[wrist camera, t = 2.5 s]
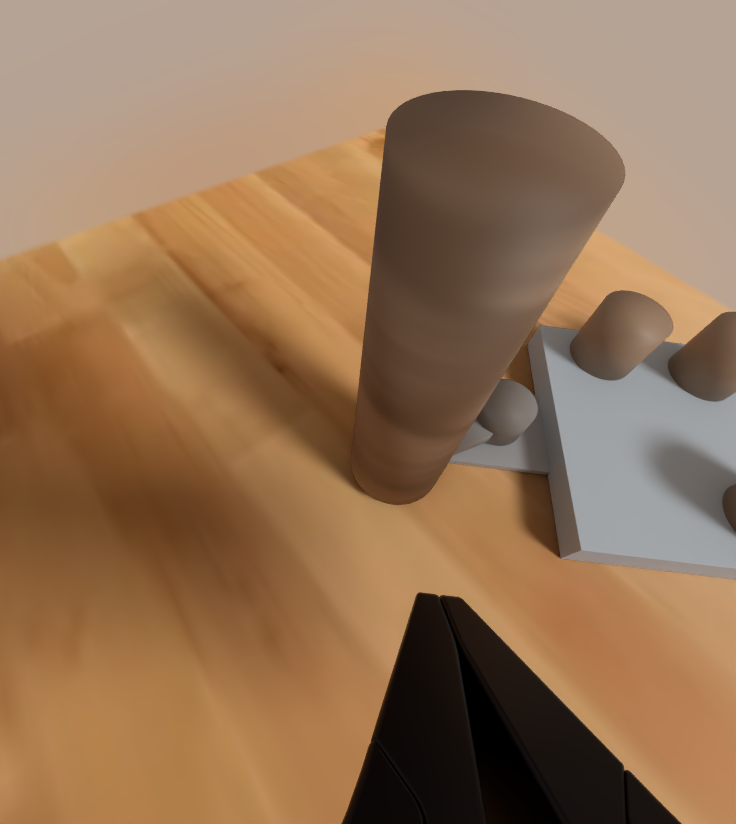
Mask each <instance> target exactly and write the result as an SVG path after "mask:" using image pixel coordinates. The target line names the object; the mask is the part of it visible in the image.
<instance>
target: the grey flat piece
mask: <svg viewBox="0 0 736 824" xmlns="http://www.w3.org/2000/svg"><path fill="white" fill-rule="evenodd" d="M672 331H673V321H672V319H671V317H670V315H669V314H668V312H667V311H666V310H665V309H664V308H663V307H662V306H661V305H660V304H659V303H657V302H656V301H654V300H653V299H651V298H649V297H647V296H645V295H643V294H640V293H637V292H632V291H615V292H612V293H610V294H609V295H607V296H606V298H605V299H604V300H603V301H602V303H601V304H600V305H599V307H598V308H597V309H596V310H595V312H594V313H593V314H592V316H591V317H590V318H589V319H588V321H587V322H586V323H585V325H584V326H583V327H582V328H581V330H572V329H565V328H557V327H549V326H542V325H540V326H539V327H538V329H537V330H536V332H535V334H534V335H533V337H532V338H531V340H530V341H529V343H528V344H527V346H528V352H529V358H530V365H531V371H532V378H533V384H534V390H535V395H533V396H534V398H535V399H536V402H537V406H538V412H537V416H536V418H535V419H534V421H533V422H532V423H531V424H530V425H529V426H528V427H527V428H526V430H525V431H524V432H523V433H522V434H521V435H520V436H519V438H518V439H517V440H516V441H515V442H513V443H511V444H509V445H505V446H495V445H491V444H488V443H486V442H485V443H483V444H481V445H478V446H476V447H473V448H471V449H468V450H466V451H463V452H461V453H459V454H456V455H454V456H452V458H451V459H450V461H449V462H448V463H455V464H463V465H471V466H479V467H487V468H495V469H503V470H511V471H519V472H527V473H535V474H543V475H548V480H549V486H550V493H551V499H552V506H553V512H554V518H555V525H556V531H557V538H558V544H559V550H560V557H561V559H569V560H578V561H586V562H595V563H603V564H611V565H620V566H628V567H636V568H645V569H653V570H661V571H670V572H678V573H686V574H695V575H703V576H712V577H720V578H728V579H736V312H726V313H723V314H721V315H719V316H718V317H717V318H716V319H715V320H713V321H712V322H711V323H710V324H709V325H708V326H706V327H705V328H704V329H703V330H702V331H701V332H699V333H698V334H697V335H696V336H695V337H694V338H692V339H691V340H690V341H689V342H688V343H687V344H679V343H671V342H664V340H665V339H666V338H668V337H669V336H670V334H671V333H672Z"/></svg>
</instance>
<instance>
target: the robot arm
mask: <svg viewBox="0 0 736 824" xmlns="http://www.w3.org/2000/svg"><path fill="white" fill-rule="evenodd" d="M342 824H681V823H680V822H679V821H678V820H677V819H676V818H675V817H674V816H673V815H672V814H671V813H670V812H669V811H668V810H667V809H666V808H665V807H664V806H663V805H662V804H661V803H660V802H659V801H658V800H657V799H656V798H655V797H654V796H653V794H652V793H651V792H650V791H649V790H648V789H647V788H646V787H645V786H644V785H643V784H642V783H641V782H640V781H639V780H638V779H637V778H636V777H635V776H634V775H633V774H632V773H631V772H630V771H629V770H625V771H624V766H623V764H622V763H621V762H620V761H619V760H618V759H617V758H616V757H615V756H614V755H613V754H612V753H611V752H610V750H609V749H608V748H607V747H606V746H605V745H604V744H603V743H602V742H601V741H600V740H599V739H598V738H597V737H596V736H595V735H594V734H593V733H592V732H591V731H590V730H589V729H588V728H587V727H586V726H585V725H584V724H583V723H582V722H581V721H580V720H579V719H578V718H577V716H576V715H575V714H574V713H573V712H572V711H571V710H570V709H569V708H568V707H567V706H566V705H565V704H564V703H563V702H562V701H561V700H560V699H559V698H558V697H557V696H556V695H555V694H554V693H553V692H552V691H551V690H550V689H549V688H548V687H547V686H546V685H545V684H544V682H543V681H542V680H541V679H540V678H539V677H538V676H537V675H536V674H535V673H534V672H533V671H532V670H531V669H530V668H529V667H528V666H527V665H526V664H525V663H524V662H523V661H522V660H521V659H520V658H519V657H518V656H517V655H516V654H515V653H514V652H513V651H512V650H511V648H510V647H509V646H508V645H507V644H506V643H505V642H504V641H503V640H502V639H501V638H500V637H499V636H498V635H497V634H496V633H495V632H494V631H493V630H492V629H491V628H490V627H489V626H488V625H487V624H486V623H485V622H484V621H483V620H482V619H481V618H480V617H479V616H478V615H477V613H476V612H475V611H474V610H473V609H472V608H471V607H470V606H469V605H468V604H467V603H466V602H465V601H464V600H463V599H462V598H460V597H454V596H446V595H441V596H440V597H439V596H438V595H436V594H429V593H418V594H417V595H416V598H415V601H414V604H413V607H412V611H411V614H410V617H409V620H408V623H407V627H406V630H405V633H404V636H403V639H402V642H401V646H400V649H399V652H398V655H397V658H396V662H395V665H394V668H393V671H392V674H391V678H390V681H389V684H388V687H387V690H386V694H385V697H384V700H383V703H382V706H381V710H380V713H379V716H378V719H377V722H376V726H375V729H374V732H373V735H372V738H371V743H370V744H369V747H368V750H367V753H366V757H365V760H364V763H363V766H362V769H361V772H360V775H359V778H358V781H357V784H356V787H355V789H354V792H353V795H352V798H351V801H350V804H349V806H348V809H347V812H346V814H345V817H344V819H343V822H342Z"/></svg>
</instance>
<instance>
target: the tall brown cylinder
mask: <svg viewBox="0 0 736 824" xmlns="http://www.w3.org/2000/svg"><path fill="white" fill-rule="evenodd" d="M624 179H625V167H624V164H623V161H622V159H621V157H620V155H619V154H618V152H617V150H616V149H615V148H614V147H613V146H612V144H611V143H610V142H609V141H607V140H606V139H605V138H604V137H603V136H602V135H601V134H600V133H598V132H597V131H596V130H594V129H593V128H591V127H590V126H588V125H587V124H585V123H584V122H582V121H580V120H578V119H576V118H575V117H573V116H571V115H569V114H566V113H564V112H562V111H560V110H557V109H555V108H552V107H550V106H547V105H544V104H541V103H538V102H535V101H531V100H528V99H524V98H521V97H516V96H512V95H506V94H501V93H494V92H486V91H472V90H456V91H442V92H435V93H430V94H426V95H422V96H419V97H416V98H413V99H411V100H409V101H407V102H405V103H403V104H402V105H400V106H399V107H398V108H397V109H396V110H395V111H394V112H393V113H392V114H391V116H390V118H389V119H388V122H387V126H386V135H385V144H384V153H383V163H382V172H381V181H380V191H379V200H378V209H377V219H376V228H375V238H374V247H373V256H372V266H371V275H370V284H369V294H368V303H367V312H366V322H365V331H364V340H363V350H362V359H361V368H360V378H359V387H358V396H357V406H356V415H355V424H354V434H353V443H352V452H351V468H352V472H353V475H354V477H355V479H356V481H357V483H358V484H359V486H360V487H361V488H362V489H363V490H364V491H365V492H366V493H367V494H368V495H369V496H371V497H373V498H374V499H376V500H378V501H381V502H384V503H387V504H393V505H403V504H409V503H412V502H415V501H417V500H419V499H421V498H422V497H424V496H425V495H426V494H427V493H428V492H430V490H431V489H432V488H433V486H434V485H435V483H436V481H437V480H438V478H439V477H440V475H441V474H442V472H443V470H444V469H445V467H446V466H447V464H448V462H449V461H450V459H451V458H452V456H454V455H456V454H459V453H461V452H463V451H466V450H468V449H471V448H473V447H476V446H478V445H481V444H483V443H485V442H486V443H488V444H491V445H495V446H505V445H509V444H511V443H513V442H515V441H516V440H517V439H518V438H519V436H520V435H521V434H522V433H523V432H524V431H525V430H526V428H527V427H528V426H529V425H530V424H531V423H532V422H533V421H534V419H535V418H536V416H537V412H538V406H537V402H536V399H535V398H534V396H533V394H532V393H531V392H530V391H529V390H528V389H527V388H526V387H525V386H523V385H522V384H520V383H518V382H515V381H513V380H508V379H501V378H502V377H503V375H504V373H505V372H506V370H507V369H508V367H509V365H510V364H511V362H512V361H513V359H514V358H515V356H516V354H517V353H518V351H519V350H520V348H521V346H522V345H523V343H524V342H525V340H526V338H527V337H528V335H529V334H530V332H531V330H532V329H533V327H534V326H535V324H536V323H537V321H538V319H539V318H540V316H541V315H542V313H543V311H544V310H545V308H546V307H547V305H548V303H549V302H550V300H551V299H552V297H553V296H554V294H555V292H556V291H557V289H558V288H559V286H560V284H561V283H562V281H563V280H564V278H565V276H566V275H567V273H568V272H569V270H570V268H571V267H572V265H573V264H574V262H575V261H576V259H577V257H578V256H579V254H580V253H581V251H582V249H583V248H584V246H585V245H586V243H587V241H588V240H589V238H590V237H591V235H592V234H593V232H594V230H595V229H596V227H597V225H598V224H599V222H600V221H601V219H602V217H603V216H604V214H605V213H606V211H607V210H608V208H609V207H610V205H611V203H612V202H613V200H614V198H615V197H616V195H617V194H618V192H619V191H620V189H621V187H622V185H623V183H624Z"/></svg>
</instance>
